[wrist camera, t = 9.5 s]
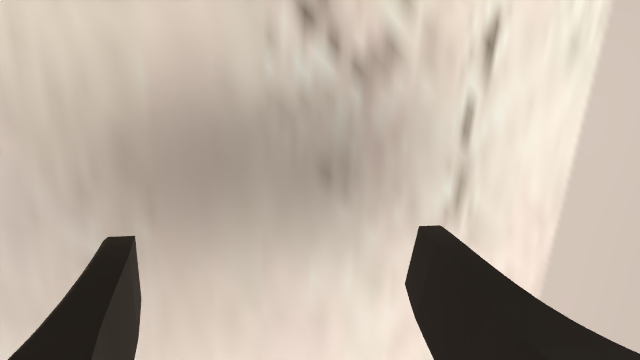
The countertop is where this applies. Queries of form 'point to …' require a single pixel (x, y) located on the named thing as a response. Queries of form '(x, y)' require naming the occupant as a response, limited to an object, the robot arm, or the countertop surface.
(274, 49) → the countertop surface
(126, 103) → the countertop surface
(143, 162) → the countertop surface
